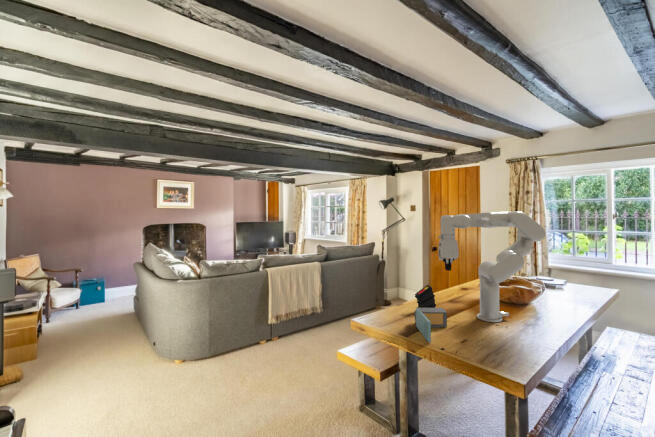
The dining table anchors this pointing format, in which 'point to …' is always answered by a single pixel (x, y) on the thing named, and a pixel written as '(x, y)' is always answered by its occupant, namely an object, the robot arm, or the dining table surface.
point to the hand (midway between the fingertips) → (448, 270)
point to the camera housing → (435, 316)
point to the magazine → (425, 298)
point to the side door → (423, 325)
